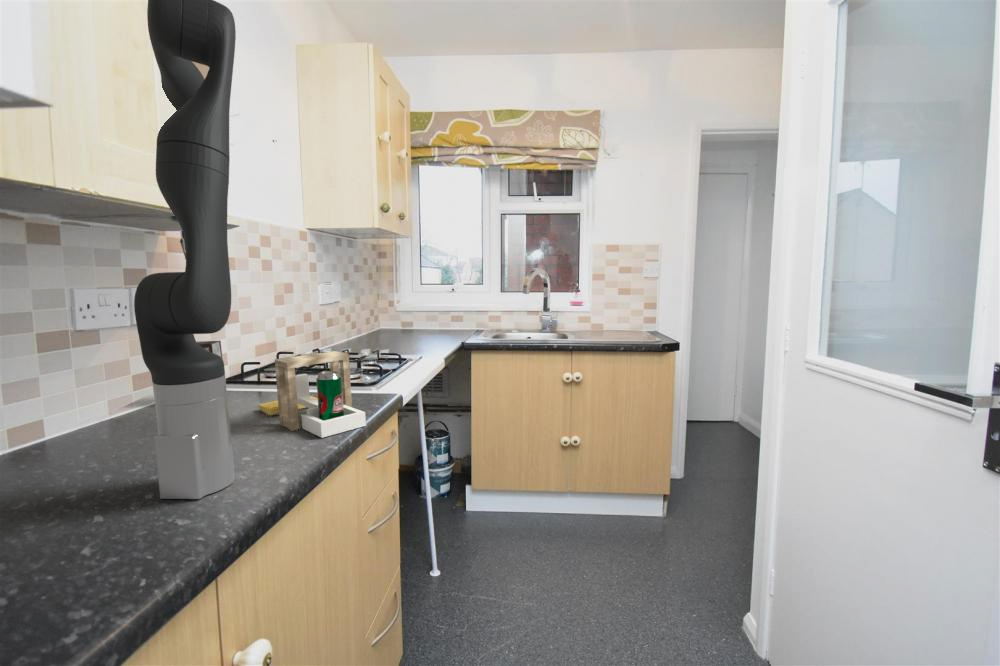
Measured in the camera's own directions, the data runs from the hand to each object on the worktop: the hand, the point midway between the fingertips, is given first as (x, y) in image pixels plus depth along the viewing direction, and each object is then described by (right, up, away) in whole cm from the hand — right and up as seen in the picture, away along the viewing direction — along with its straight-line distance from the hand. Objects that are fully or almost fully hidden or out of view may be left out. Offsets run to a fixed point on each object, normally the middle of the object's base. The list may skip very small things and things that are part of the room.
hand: (198, 281), depth 100 cm
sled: (+25, -31, +4) cm, 40 cm away
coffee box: (-13, -30, +23) cm, 40 cm away
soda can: (+29, -32, 0) cm, 43 cm away
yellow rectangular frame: (+13, -30, +15) cm, 36 cm away
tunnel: (+24, -31, +5) cm, 39 cm away
